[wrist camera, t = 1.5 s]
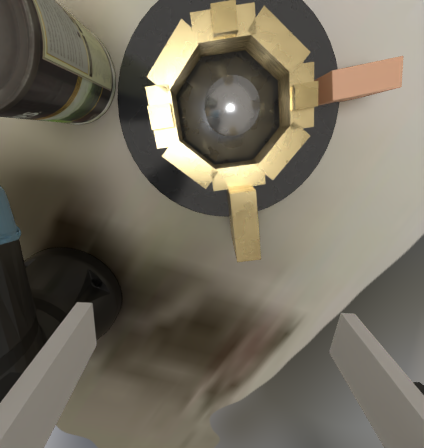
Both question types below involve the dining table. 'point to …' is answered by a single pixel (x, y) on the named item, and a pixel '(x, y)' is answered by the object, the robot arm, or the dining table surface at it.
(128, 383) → the dining table surface
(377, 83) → the block
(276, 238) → the dining table surface
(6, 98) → the coffee can
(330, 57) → the plate
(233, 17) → the gold octagonal ring
